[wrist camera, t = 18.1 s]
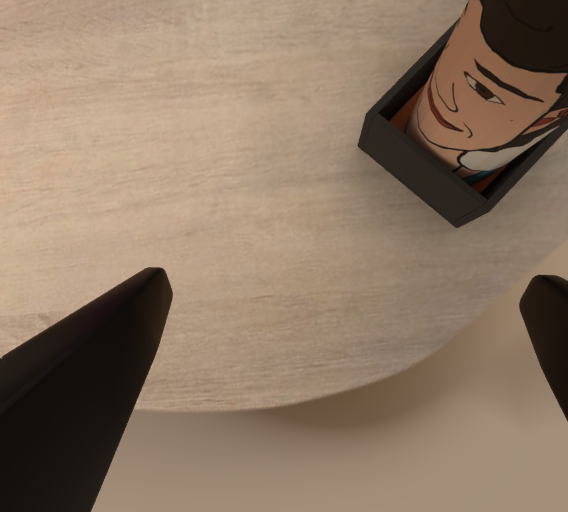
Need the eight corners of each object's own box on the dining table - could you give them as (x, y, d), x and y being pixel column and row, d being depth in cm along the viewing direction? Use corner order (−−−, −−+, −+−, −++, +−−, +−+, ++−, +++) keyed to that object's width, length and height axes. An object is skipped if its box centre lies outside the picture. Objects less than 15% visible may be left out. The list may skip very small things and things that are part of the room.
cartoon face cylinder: (423, 81, 22) (646, -371, 7) (521, 111, 21) (1012, -338, 6) (387, 166, 21) (552, -137, 7) (487, 201, 20) (941, -61, 6)
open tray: (545, 135, 21) (597, 97, 17) (456, 228, 21) (489, 211, 17) (441, 60, 23) (467, 9, 19) (357, 146, 23) (365, 113, 19)
